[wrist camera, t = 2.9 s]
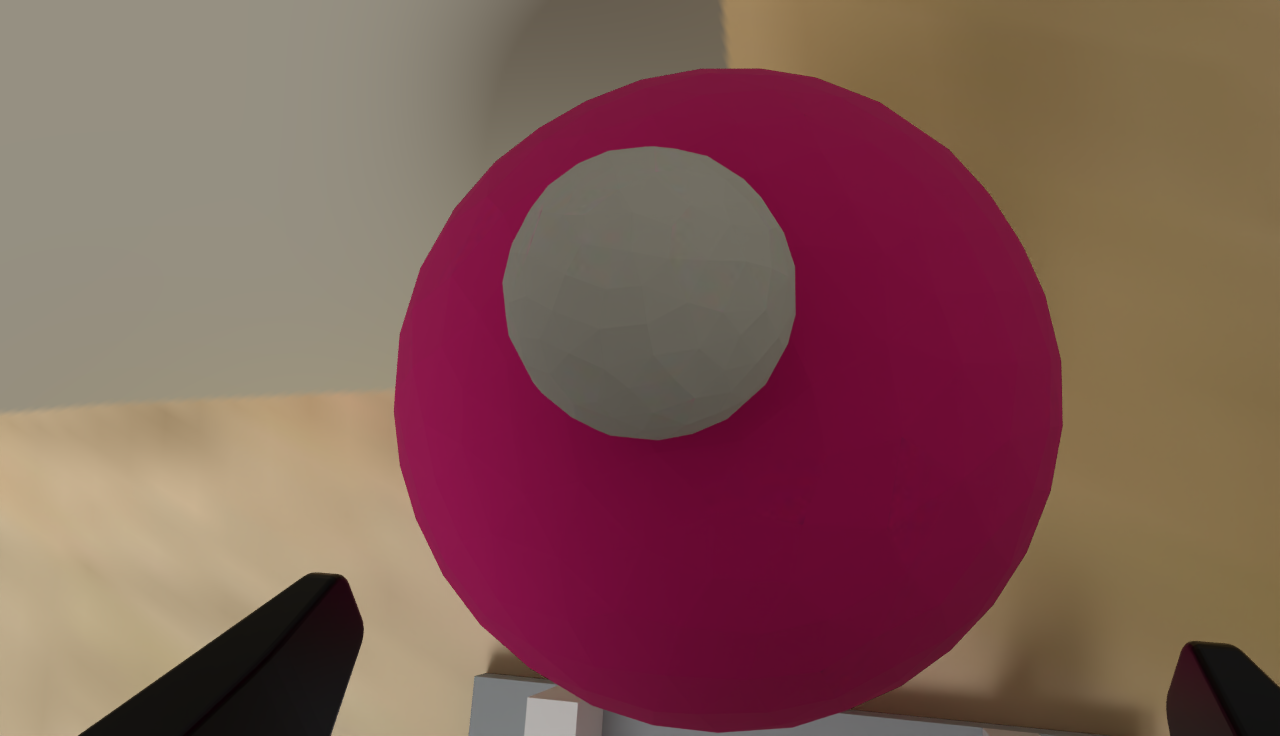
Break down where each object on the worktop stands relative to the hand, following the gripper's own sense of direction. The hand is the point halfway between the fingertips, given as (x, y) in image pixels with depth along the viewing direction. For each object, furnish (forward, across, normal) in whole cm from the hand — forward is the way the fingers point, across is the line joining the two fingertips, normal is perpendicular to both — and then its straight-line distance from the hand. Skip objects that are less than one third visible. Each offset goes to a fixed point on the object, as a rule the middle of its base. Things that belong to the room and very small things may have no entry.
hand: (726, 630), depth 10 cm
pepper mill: (+12, 0, +9) cm, 14 cm away
